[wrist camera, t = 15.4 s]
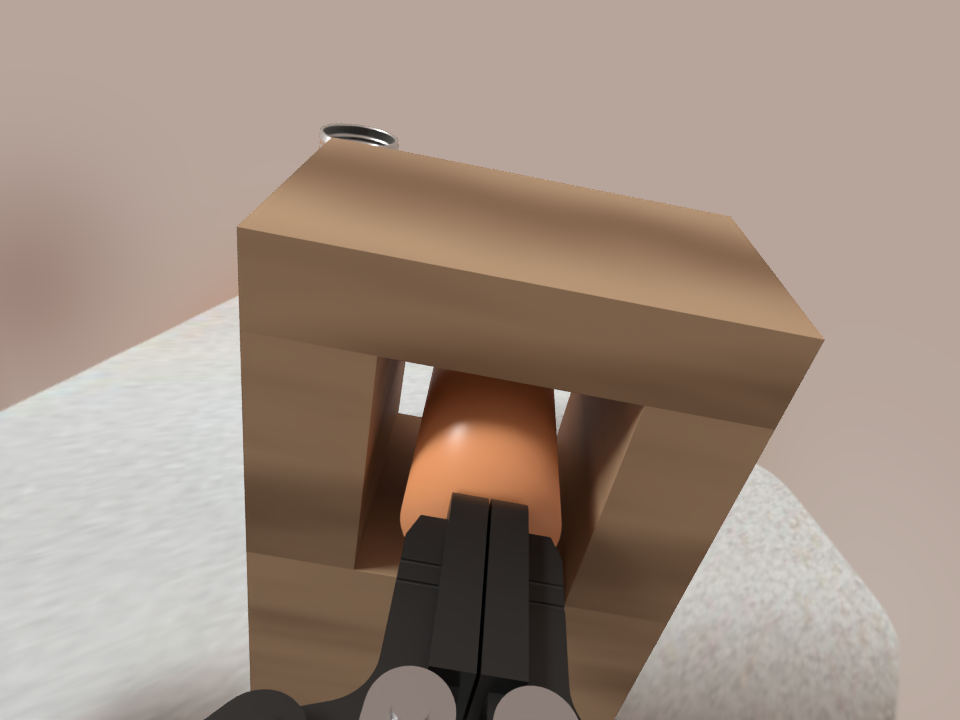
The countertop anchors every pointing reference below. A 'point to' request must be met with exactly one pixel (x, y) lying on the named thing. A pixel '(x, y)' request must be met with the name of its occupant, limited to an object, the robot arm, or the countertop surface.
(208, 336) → the countertop surface
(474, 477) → the plunger
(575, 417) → the wooden window block
